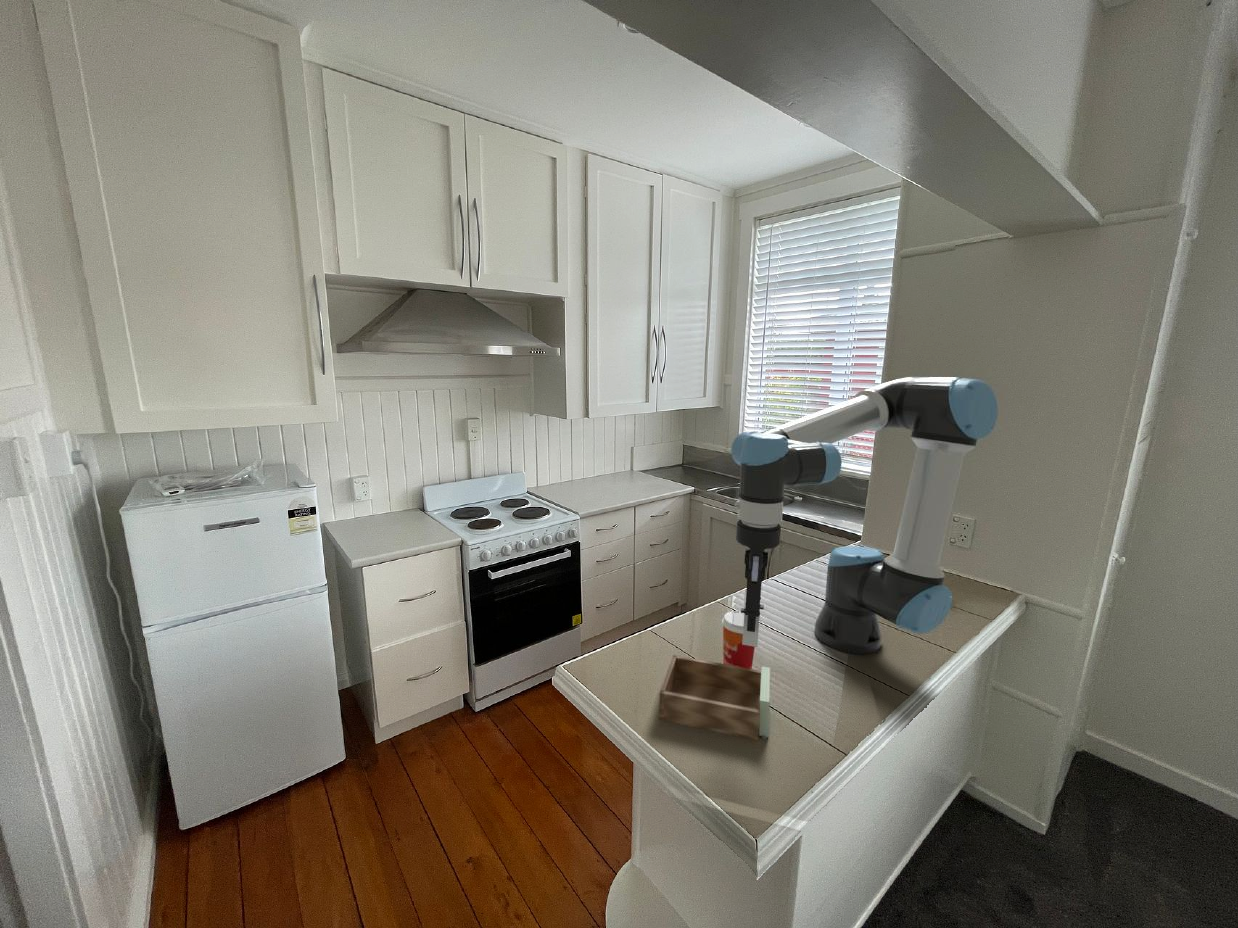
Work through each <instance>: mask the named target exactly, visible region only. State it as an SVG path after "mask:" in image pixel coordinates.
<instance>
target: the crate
mask: <svg viewBox="0 0 1238 928" xmlns="http://www.w3.org/2000/svg"><path fill="white" fill-rule="evenodd" d="M664 677H665V678H664V679H663V682H662V686H661V688H660V691H659V700H658V701H659V703H658V704H659V706H658V707H659V709H658V720H662V721H666V722H670V723H675V724H679V725H684V726H689V727H693V728H698V729H704V730H706V731H712V732H716V733H721V734H727V735H730V736H734V737H739V738H744V739H748V740H749V739H750V740H754V741H759V729H760V689H761V669H760V670H758V669H753V668H752V669H748V668H743V667H737V666H732V665H726V664H723V663H721V662H720V663H719V662H714V661H709V660H703V659H697V658H690V657H685V656H682V655H675V654H673V655H672V657H671V660H670V663H669V665H668V668H667V672H666V675H665V676H664Z"/></svg>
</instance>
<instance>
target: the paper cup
mask: <svg viewBox="0 0 1238 928" xmlns="http://www.w3.org/2000/svg"><path fill="white" fill-rule="evenodd" d="M721 624H722V630H723V631H722V636H723V637H722V641H723V642H722V645H723V646H722V647H723V648H722V649H723V650H722V653H723V654H722V655H723V656H722V658H723V659H722V661H723V663H722V664H726V665H732V666H737V667H743V668H748V669H753V662H754V654H755V650H756V649H755V648H756V647H754V646H748V645H742V640H743V626H744V613H741V611H737V610H735V611H728V612H726V613H725V614H724V616H723V618H722V619H721Z"/></svg>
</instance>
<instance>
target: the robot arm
mask: <svg viewBox="0 0 1238 928" xmlns="http://www.w3.org/2000/svg"><path fill="white" fill-rule="evenodd" d="M998 406H999V405H998V400H997V396H996V395H995V392H994V390H993V388H992V387H991V386H990V384H988V383H987V382H986V381H983V380H981V379H975V378H966V377H946V376H945V377H943V376H942V377H941V376H938V377H936V376H934V377H933V376H929V377H928V376H905V377H901V378H896V379H893V380H890V381H886V382H883V383H880V384H877V385H874V386H872V387H868V388H865V389H863V390H860V391H858V392H857V393H856V394H855V395H854V397H853V398H851V399H849V400H846V401H843V402H841V403H837V404H836V405H833V406H830V407H828V408H824V409H822V410H819V411H816V412H813V413H811V414H808V415H805V416H802V417H800V418H798V419H794V420H793V421H790V422H787V423H784V424H781V425H779V426H776V427H773V428H771V429H770V428H769V429H767V430H764V431H761V432H756V431H743V432H741V433H739V434H738V435H736V437H735V438H734V439H733V441H732V444H731V450H730V451H731V456H732V459H733V461H734V462H735V463H736V464H737V465H739V466H740V469H739V470H740V471H739V487H738V488H739V489H738V492H739V493H738V500H737V501H735V503H734V506H735V507H738V509H737V518H738V521H737V522H736V531H735V534H736V535H735V538H736V541H737V543H738V544H740V545H741V546H743V547H747V548H748V549H747V548H746V549H745V553H744V560H743V561H744V565H745V569H744V577H745V579H746V590H745V592H746V593H745V607H741V609H740V612H741V613H744V626H743V640H742V645H748V646H754V647H755V648H758V643H759V642H758V641H759V630H760V629H759V627H760V616H761V610H763V611H764V608H765V605H764V604H761V599H762V595H761V594H762V585H763V581H765V579H766V570H767V569H766V568H767V567H768V562H769V551H765V550H767V549H770V550H771V549H775V548H776V547H778V546H779V545H780V544H781V543H780V542H781V531H782V527H781V523H782V521H783V513H784V511H783V510H784V497H785V489H786V488H790V487H800V486H811V485H813V486H814V485H815V486H818V485H821V484H825V483H826V484H827V483H829V482H832V481H834V480H835V479H837V477H838V476H839V474H840V472H841V470H842V456H841V453H840V451H839V450H838V448H837V447H836V446H835V445H834V444H835V443H837V442H840V441H843V440H845V439H847V438H850V437H852V436H855V435H857V434H860V433H862V432H865V431H869V432H877V431H880V430H882V429H890V428H894V429H905V430H911V436H910V439H911V440H912V442H913V444H915V446H916V451H915V453H914V459H913V464H912V468H911V473H910V477H909V481H908V486H907V490H906V495H905V499H904V504H903V508H902V513H901V517H900V523H899V527H898V531H897V535H896V540H895V544H894V549H893V553H892V554H890V555H888V556H886V557H885V556H884V554H883V552H882V551H881V550H879V549H876V548H873V547H866V546H859V545H849V546H840V547H836V548H834V549H832V551H830V553H829V559H828V563H827V573H826V585H825V586H826V587H825V597H824V604H823V606H822V608H821V610H820V612H819V614H818V616H817V618H816V620H815V622H814V634H815V637H817V638H818V640H820V641H821V642H822V643H823V644H825V645H826V646H829V647H831V648H833V649H835V650H838V651H841V652H845V653H851V654H858V655H861V654H862V655H867V654H871V653H874V652H877V651H878V650H879V649H880V648H881V646H882V639H883V638H882V637H883V635H882V632H881V628H880V624H879V623H880V622H879V620H878V616H879V617H881V618H882V619H884V620H887V621H889V622H890V623H892V624H894V625H895V626H896V627H897V628H900V629H904V630H907V631H908V632H911V633H913V634H916V635H924V634H928V633H930V632H932V631H934V630H935V629H937V628H938V627H939V626H940V625H941V624H942V623H943V622H944V621H945V619H946V618H947V617H948V615H949V612H950V611H951V609H952V605H953V604H952V603H953V596H952V591H951V590H950V589H949V588H948V587H947V586H946V585H943V583H944V580H945V576H946V575H945V573H944V571H943V570H942V569H941V567H940V565H939V563H940V560H941V555H942V551H943V546H944V543H945V539H946V534H947V530H948V526H949V521H950V517H951V513H952V508H953V505H954V500H955V496H956V492H957V488H958V483H959V479H960V475H961V471H962V466H963V463H964V462H963V461H964V458H965V455H966V453H968V452H971V451H973V449H975V448H976V445H977V441H978V440H981V439H985V438H986V437H988V436H990V434H991V433H992V430H994V429H995V426H996V423H997V419H998V410H999V407H998Z"/></svg>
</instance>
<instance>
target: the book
mask: <svg viewBox="0 0 1238 928" xmlns="http://www.w3.org/2000/svg"><path fill="white" fill-rule="evenodd" d="M760 671H761V689H760V721H759V734H758V737H759V736H761V739H764V740H767V738H769V735H770V698H771V697H770V695H771V694H770V690H771V689H770V688H771V687H770V686H771V685H770V684H771V683H770V682H771V680H770V679H771V667H768V666H761V669H760Z"/></svg>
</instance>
